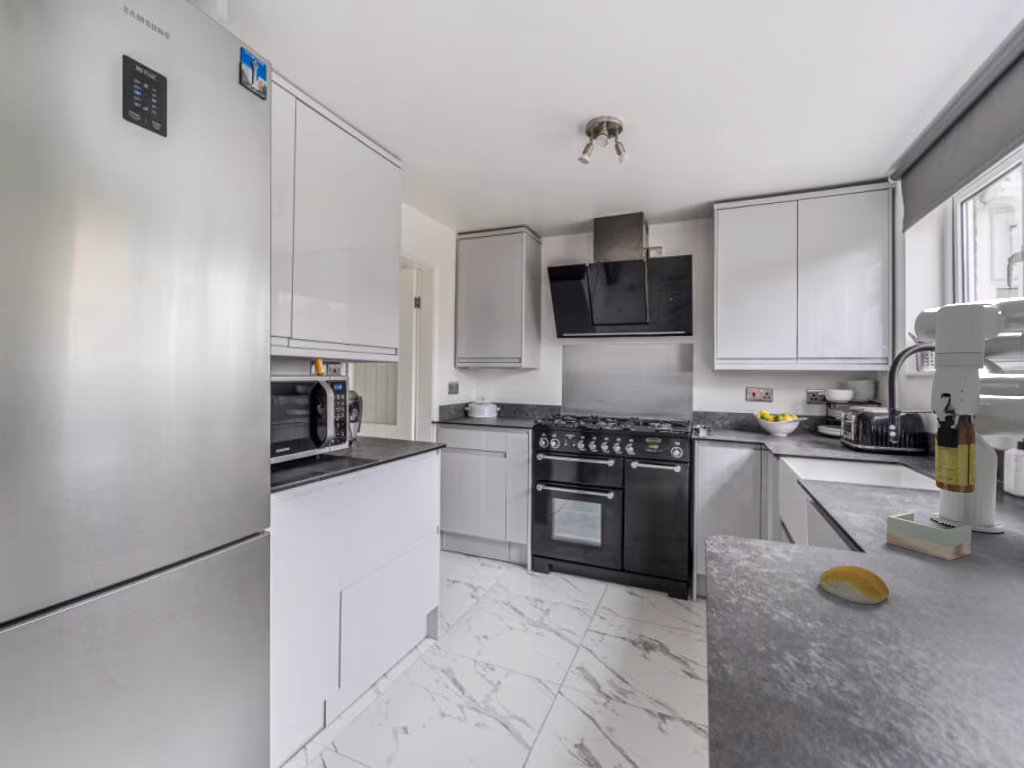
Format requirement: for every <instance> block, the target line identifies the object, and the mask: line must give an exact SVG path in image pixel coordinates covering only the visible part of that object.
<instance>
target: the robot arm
mask: <svg viewBox="0 0 1024 768" xmlns="http://www.w3.org/2000/svg"><path fill="white" fill-rule="evenodd" d="M913 328H914V334H915V335H916V337H917V339H918V340H920V341H921V342H924V343H931V342H932V343H935V345H934V366H933V367H934V368H933V369H934V370H935V372H934V375H933V381H932V389H931V397H930V408H929V409H930V412H931V413H932V414H933V415H936V420H937V423H936V427H937V431H938V436H937V445H938V446H942V447H950V448H957V447H958V438H959V429H956V427H957V423H958V419H959V416H963V415H967V416H968V422H969V423H970V424H971V425H972V426H973V428H974V431H975V443H976V484H974V486H975V490H974V492H971V493H963V492H951V491H948V490H944V489H940V488H939V505H938V511H936V512H935V511H934V512H931V513H930V514H929V515H930V516H929V517H931V518H932V519H934V520H936V521H939V522H941V523H940V524H942V523H944V524H943V525H945V524H947V525H946V526H948V525H950V526H949V527H952V526H954V527H953V528H956V527H960V526H965V525H968V526H972V531H974V532H981V533H982V532H983V533H991V534H993V533H997V534H999V533H1003V532H1004V531H1005V526H1004V525H1003V524H1002V523H999V522H996V521H995V520H996V519H995V518H996V502H997V501H996V500H997V499H996V497H997V478H998V477H997V474H998V473H997V472H998V455H997V452H996V450H995V448H993V446H992V445H991V444H989V442H987V441H986V439H984V438H983V437H985V436H987V437H988V436H991V437H993V436H994V437H1003V438H1015V439H1016V438H1017V439H1018V438H1020V439H1024V373H1006V372H1005V370H1004V369H1003V368H1002V367H1001V366H999V365H998V364H997V363H995V361H992V360H1024V296H1022V297H1011V298H1009V297H1008V298H997V299H987V300H985V299H983V300H977V301H973V302H965V303H964V302H963V303H954V304H953V303H952V304H946V305H942V306H941V307H936V308H935V307H934V308H928V309H924V310H921V311H920V312H919V313H918V315H917V316H916V318H915V321H914V327H913ZM947 411H948V412H955V414H954V413H947ZM951 418H952V421H951ZM931 518H930V519H931ZM932 519H931V520H932ZM934 520H933V521H934ZM936 521H935V522H936ZM939 522H938V523H939Z"/></svg>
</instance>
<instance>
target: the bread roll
mask: <svg viewBox="0 0 1024 768" xmlns="http://www.w3.org/2000/svg"><path fill="white" fill-rule="evenodd" d="M818 583H819V585H820V586H821V587H822V589H824V591H826V592H827V593H829V594H831V595H833V596H835V597H839V598H840V599H842V600H845V601H850V602H852V603H856V604H862V605H875V604H880V602H882V601H884V600H886V599H888V597H889V596H890V589H889V587H888V586H887V584H886V583H885V581H884V580H883V579H882V578H881V577H880V576H879V575H878V574H876V573H875V572H873V571H871V570H870V569H866V568H864V567H861V566H856V565H837V566H832V567H831V568H828V569H827V570H824V571H823V572H822V573H820V575H819V579H818Z"/></svg>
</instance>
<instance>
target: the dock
mask: <svg viewBox="0 0 1024 768" xmlns="http://www.w3.org/2000/svg"><path fill="white" fill-rule="evenodd" d="M886 520H887V521H886V522H887V524H886V543H887V544H891V545H895V546H897V547H902V548H904V549H909V550H911V551H915V552H919V553H923V554H926V555H929V556H932V557H936V558H940V559H943V560H945V561H951V560H954V559H958V558H961V557H965V556H968V555H971V552H972V551H971V550H972V549H971V548H972V531H973V530H972V526H968V525H965V526H960V527H952V528H949V529H945V528H941V527H938V526H932V525H928V524H924V523H921V522H916V521H915V512H911V511H908V512H903V513H899V514H892V515H888V516H887V518H886Z"/></svg>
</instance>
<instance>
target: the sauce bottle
mask: <svg viewBox="0 0 1024 768" xmlns="http://www.w3.org/2000/svg"><path fill="white" fill-rule="evenodd" d="M947 413H954V414H955V412H948V411H947ZM951 421H952V418H951ZM956 429H959V438H958V447H957V448H950V447H942V446H938V445H937V436H938V430H937V431H936V433H935V436H934V448H935V449H934V480H935V486H936V488H938V489H939V490H940V489H944V490H948V491H951V492H963V493H971V492H974V490H975V486H974V484H976V443H975V431H974V428H973V426H972V425H971V424H970V423H969V422H968V416H967V415H963V416H959V419H958V423H957V427H956Z"/></svg>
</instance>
